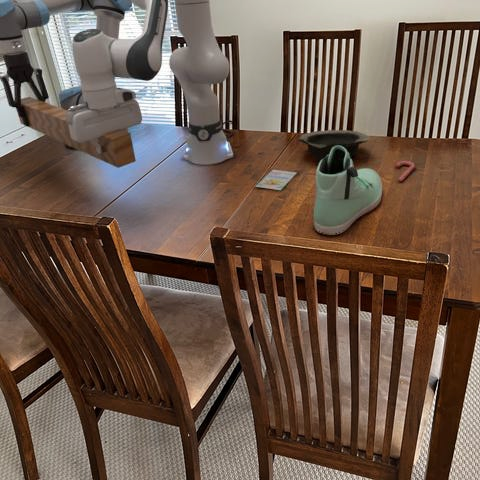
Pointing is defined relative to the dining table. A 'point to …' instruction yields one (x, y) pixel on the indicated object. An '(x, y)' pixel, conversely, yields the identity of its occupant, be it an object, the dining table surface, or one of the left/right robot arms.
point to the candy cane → (406, 170)
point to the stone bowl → (333, 142)
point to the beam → (57, 127)
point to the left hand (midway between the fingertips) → (35, 123)
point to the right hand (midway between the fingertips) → (112, 148)
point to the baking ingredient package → (276, 179)
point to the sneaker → (343, 192)
